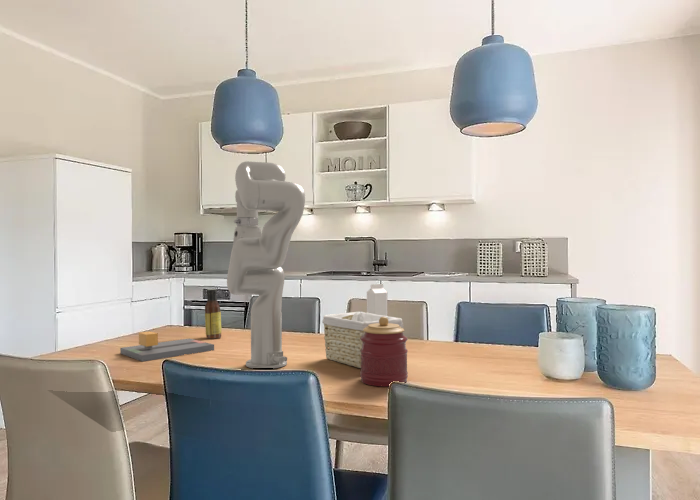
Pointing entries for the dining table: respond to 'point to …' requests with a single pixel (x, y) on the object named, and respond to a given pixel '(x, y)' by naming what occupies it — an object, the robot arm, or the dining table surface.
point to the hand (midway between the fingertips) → (247, 274)
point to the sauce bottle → (212, 315)
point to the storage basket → (349, 335)
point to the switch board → (166, 349)
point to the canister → (383, 354)
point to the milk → (377, 300)
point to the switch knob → (148, 339)
